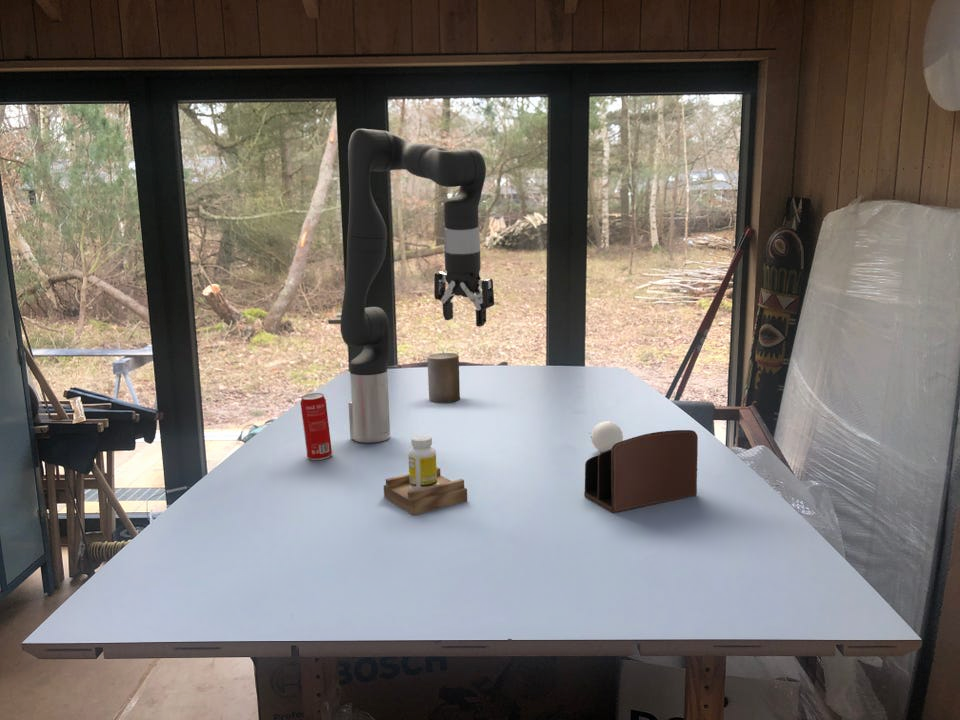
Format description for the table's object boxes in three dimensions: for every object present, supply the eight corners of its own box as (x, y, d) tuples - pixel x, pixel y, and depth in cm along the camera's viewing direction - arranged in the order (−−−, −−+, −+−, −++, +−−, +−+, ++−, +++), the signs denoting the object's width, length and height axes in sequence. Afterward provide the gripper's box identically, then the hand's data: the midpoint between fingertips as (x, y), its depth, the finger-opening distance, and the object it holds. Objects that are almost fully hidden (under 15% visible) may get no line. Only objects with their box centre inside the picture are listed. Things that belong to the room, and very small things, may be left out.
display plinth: (413, 515, 142) (412, 495, 141) (384, 496, 151) (383, 477, 151) (467, 501, 148) (466, 481, 147) (435, 484, 158) (435, 465, 157)
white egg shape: (629, 451, 177) (629, 420, 176) (611, 459, 172) (611, 427, 170) (593, 443, 184) (593, 414, 183) (575, 450, 179) (575, 420, 177)
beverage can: (336, 454, 180) (333, 392, 177) (320, 462, 174) (316, 399, 171) (316, 452, 182) (312, 391, 180) (299, 459, 177) (294, 397, 174)
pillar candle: (466, 397, 234) (464, 349, 232) (448, 404, 226) (446, 355, 224) (440, 394, 240) (439, 347, 237) (422, 401, 231) (420, 352, 229)
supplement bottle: (441, 482, 151) (439, 435, 149) (430, 491, 146) (428, 442, 144) (416, 480, 153) (414, 433, 151) (405, 489, 148) (403, 440, 146)
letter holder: (697, 496, 148) (699, 426, 146) (613, 514, 140) (613, 441, 138) (665, 481, 157) (666, 415, 155) (583, 497, 149) (583, 428, 147)
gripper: (500, 248, 157) (501, 323, 163) (446, 241, 165) (449, 313, 171) (479, 255, 152) (481, 332, 158) (424, 248, 160) (427, 321, 165)
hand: (464, 322), depth 164 cm, fingers open, 8 cm apart
